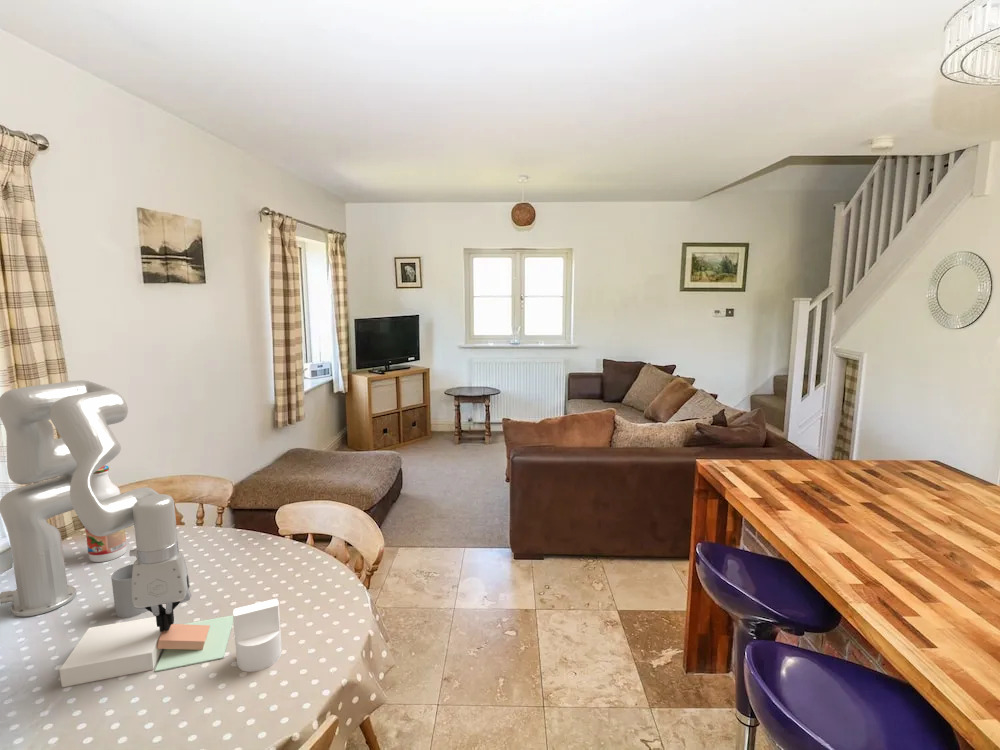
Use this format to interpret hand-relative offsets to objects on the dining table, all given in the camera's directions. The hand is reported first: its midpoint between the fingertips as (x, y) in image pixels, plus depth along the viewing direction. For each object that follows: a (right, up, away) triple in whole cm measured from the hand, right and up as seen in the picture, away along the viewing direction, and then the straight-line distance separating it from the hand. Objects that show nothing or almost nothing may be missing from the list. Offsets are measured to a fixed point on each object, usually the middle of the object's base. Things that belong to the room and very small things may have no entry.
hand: (166, 627), depth 115 cm
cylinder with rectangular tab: (+22, -6, -2) cm, 23 cm away
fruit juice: (-45, +1, +42) cm, 62 cm away
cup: (-18, -3, +16) cm, 24 cm away
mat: (+6, -5, +3) cm, 8 cm away
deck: (-8, -5, -2) cm, 10 cm away
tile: (+3, -3, +1) cm, 5 cm away
